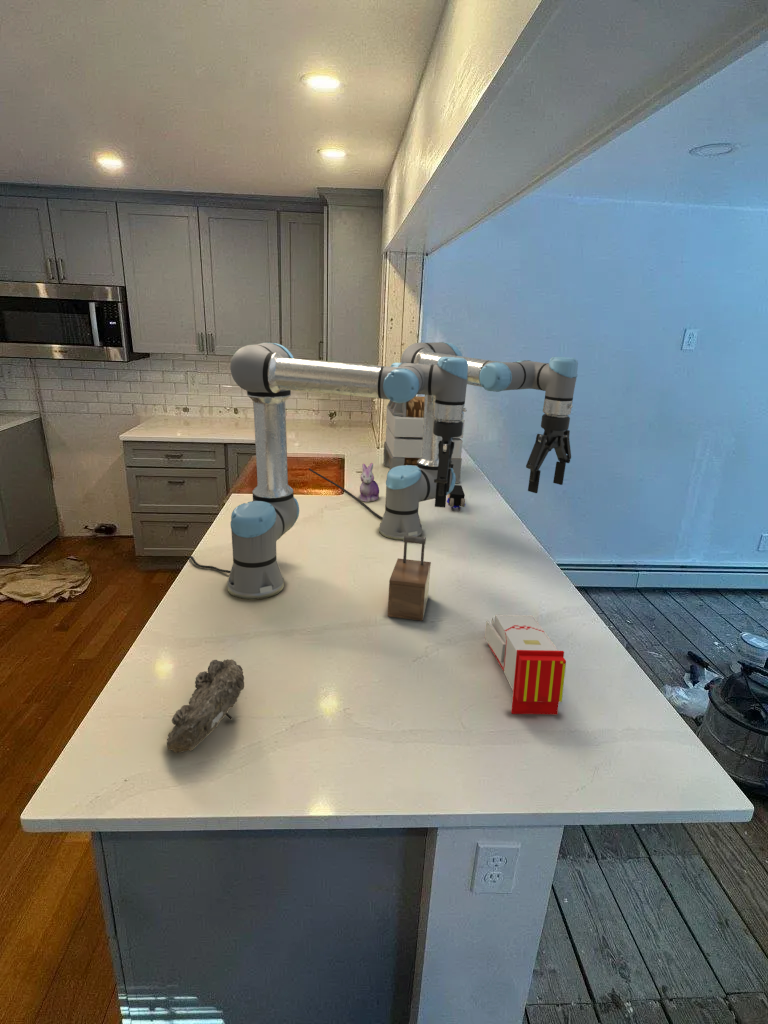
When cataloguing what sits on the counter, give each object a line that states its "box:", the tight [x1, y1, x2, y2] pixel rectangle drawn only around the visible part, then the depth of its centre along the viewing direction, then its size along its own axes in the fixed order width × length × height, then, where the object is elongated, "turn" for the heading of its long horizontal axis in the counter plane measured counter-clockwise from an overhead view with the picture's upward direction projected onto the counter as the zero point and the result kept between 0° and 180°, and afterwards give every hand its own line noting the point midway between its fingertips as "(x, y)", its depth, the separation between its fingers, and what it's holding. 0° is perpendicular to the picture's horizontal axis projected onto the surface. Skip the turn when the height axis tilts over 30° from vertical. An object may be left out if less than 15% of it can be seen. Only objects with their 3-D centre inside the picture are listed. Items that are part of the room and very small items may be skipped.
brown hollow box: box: [387, 569, 431, 622], centre depth 150 cm, size 13×9×10 cm
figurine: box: [358, 462, 380, 503], centre depth 232 cm, size 9×10×15 cm
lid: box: [388, 535, 432, 588], centre depth 147 cm, size 14×9×9 cm, turn 170°
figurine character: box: [446, 484, 466, 511], centre depth 229 cm, size 7×8×15 cm
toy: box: [484, 614, 567, 716], centre depth 124 cm, size 12×13×30 cm
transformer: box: [383, 395, 465, 484], centre depth 268 cm, size 34×33×41 cm
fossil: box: [166, 658, 245, 754], centre depth 106 cm, size 22×10×15 cm
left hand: (442, 498), depth 152 cm, fingers open, 13 cm apart
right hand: (545, 487), depth 165 cm, fingers open, 13 cm apart
